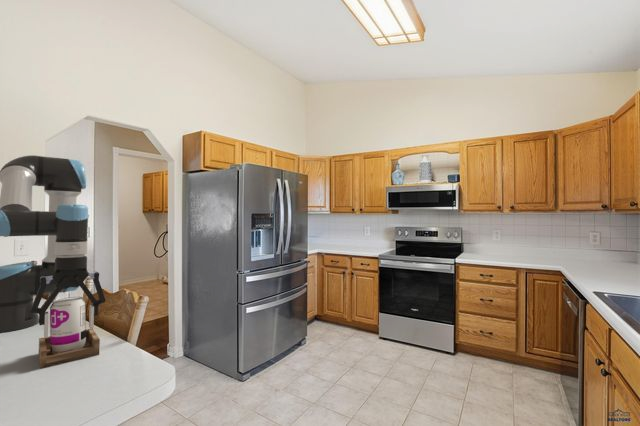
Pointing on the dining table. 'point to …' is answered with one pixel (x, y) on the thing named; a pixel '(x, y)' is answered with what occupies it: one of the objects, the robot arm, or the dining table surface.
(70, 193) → the robot arm
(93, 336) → the walnut caddy
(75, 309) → the supplement can
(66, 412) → the dining table surface
